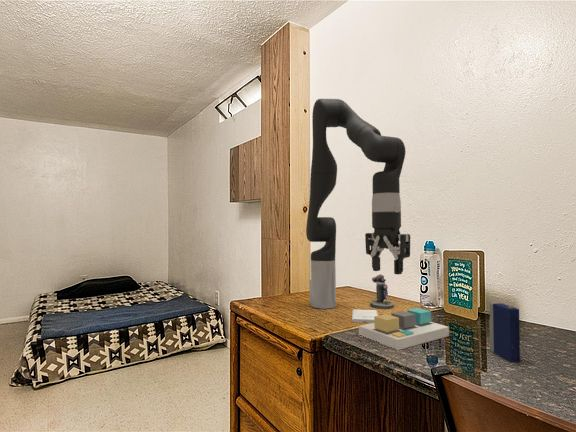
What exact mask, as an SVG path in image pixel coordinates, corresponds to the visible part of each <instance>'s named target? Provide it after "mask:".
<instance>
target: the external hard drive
mask: <svg viewBox="0 0 576 432" xmlns="http://www.w3.org/2000/svg"><path fill="white" fill-rule="evenodd" d="M351 316H352V318H351V322H352V323H366V324H371V323H374V316H379V314H378V311H377V309H376V310H375V309H356V308H355V309H352V315H351Z"/></svg>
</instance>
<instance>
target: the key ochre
mask: <svg viewBox="0 0 576 432" xmlns="http://www.w3.org/2000/svg"><path fill="white" fill-rule="evenodd" d="M374 328H377V329H380V330H383V331H386V332H389V331H393V330H398V329H399V318H398V317H395V316H391V315H390V314H387V313H384V314H380V315H379V314H378V316H374Z"/></svg>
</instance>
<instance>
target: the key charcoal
mask: <svg viewBox="0 0 576 432" xmlns="http://www.w3.org/2000/svg"><path fill="white" fill-rule="evenodd" d="M391 316H395V317H398V318H399V326H400V327H403V328H406V327H411V326H415V325H416V315H415V314H412V313H409V312H407V311H404V310H400V311H395V312H391Z"/></svg>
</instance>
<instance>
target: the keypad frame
mask: <svg viewBox="0 0 576 432" xmlns="http://www.w3.org/2000/svg"><path fill="white" fill-rule="evenodd" d="M358 335H359V336H360V335H362V336H361V337H363V336H364V337H363V338H365V337H366V338H365V339H368V338H369V339H368V340H370V339H371V341H373V340H374V341H373V342H376V341H377V342H376V343H378V342H379V343H378V344H381V345H383V346H386V347H389V348H391V347H392V349H394V348H395V349H394V350H397V351H400V350H403V349H407V348H411V347H414V346H417V345H421V344H426V343H429V342H432V341H436V340H439V339H443V338H447V337H450V327H449V325H448V326H447V325H444V324H440V323H436V322H433V321H431V322H428V323H423V324H418V323H416V325H415V326H411V327H406V328H403V327H400V326H399V329H398V330H393V331H389V332H386V331H383V330H380V329H377V328H374V323H366V324H363V325H358Z"/></svg>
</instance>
